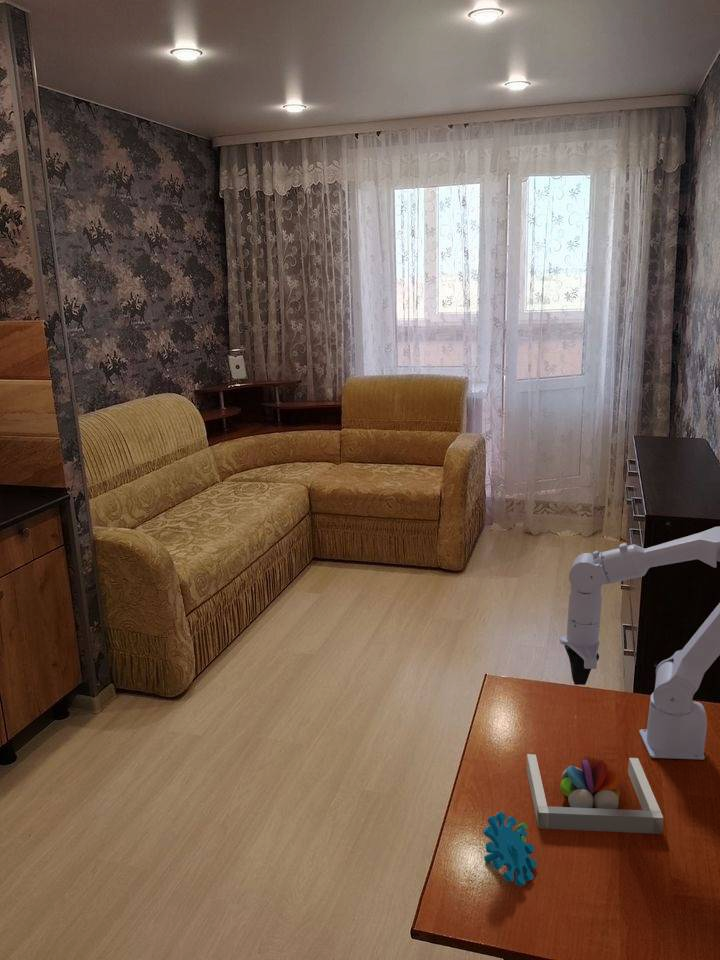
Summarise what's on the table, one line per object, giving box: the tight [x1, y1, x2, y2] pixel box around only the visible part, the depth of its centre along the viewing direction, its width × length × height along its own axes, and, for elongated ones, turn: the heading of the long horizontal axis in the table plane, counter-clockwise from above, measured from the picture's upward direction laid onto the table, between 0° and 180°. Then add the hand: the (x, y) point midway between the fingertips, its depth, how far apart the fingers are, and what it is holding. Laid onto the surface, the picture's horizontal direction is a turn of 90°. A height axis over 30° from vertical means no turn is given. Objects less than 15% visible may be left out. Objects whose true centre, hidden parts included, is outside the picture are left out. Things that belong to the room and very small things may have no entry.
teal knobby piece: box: [483, 811, 537, 887], centre depth 111 cm, size 11×6×10 cm
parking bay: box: [525, 753, 664, 835], centre depth 124 cm, size 19×14×3 cm
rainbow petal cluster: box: [559, 759, 621, 809], centre depth 124 cm, size 8×10×7 cm
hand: (579, 682), depth 141 cm, fingers closed
